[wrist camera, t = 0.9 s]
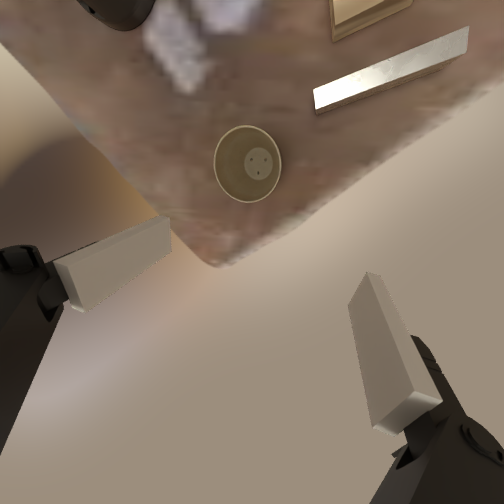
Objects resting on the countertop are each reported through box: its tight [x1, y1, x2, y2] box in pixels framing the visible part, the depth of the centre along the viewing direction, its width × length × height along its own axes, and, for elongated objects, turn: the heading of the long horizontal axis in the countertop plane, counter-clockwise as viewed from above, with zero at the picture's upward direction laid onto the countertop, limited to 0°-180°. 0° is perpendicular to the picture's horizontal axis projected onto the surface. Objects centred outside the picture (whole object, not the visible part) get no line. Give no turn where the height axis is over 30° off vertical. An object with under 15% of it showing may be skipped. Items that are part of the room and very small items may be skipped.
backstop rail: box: [314, 26, 469, 115], centre depth 23 cm, size 2×14×5 cm, turn 106°
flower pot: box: [214, 125, 282, 203], centre depth 31 cm, size 10×10×7 cm
